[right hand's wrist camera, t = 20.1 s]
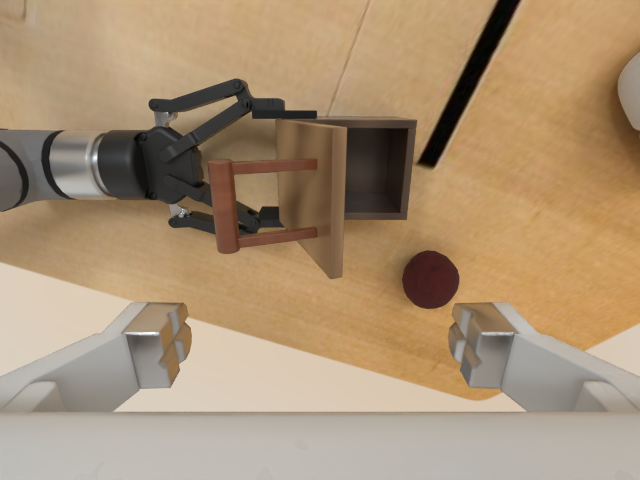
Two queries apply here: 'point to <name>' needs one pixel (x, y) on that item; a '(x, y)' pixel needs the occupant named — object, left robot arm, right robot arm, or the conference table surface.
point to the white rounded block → (631, 91)
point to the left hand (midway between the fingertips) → (316, 166)
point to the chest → (376, 165)
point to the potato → (430, 280)
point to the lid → (292, 193)
